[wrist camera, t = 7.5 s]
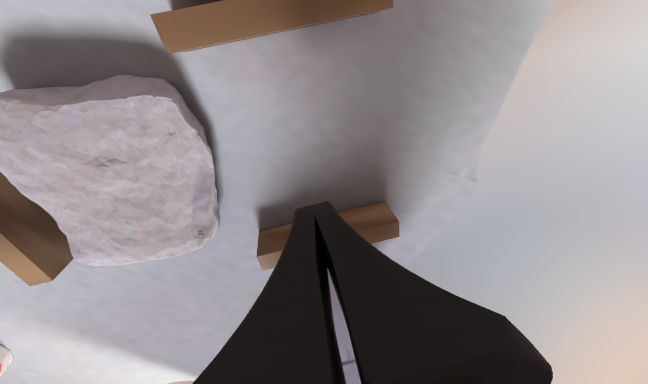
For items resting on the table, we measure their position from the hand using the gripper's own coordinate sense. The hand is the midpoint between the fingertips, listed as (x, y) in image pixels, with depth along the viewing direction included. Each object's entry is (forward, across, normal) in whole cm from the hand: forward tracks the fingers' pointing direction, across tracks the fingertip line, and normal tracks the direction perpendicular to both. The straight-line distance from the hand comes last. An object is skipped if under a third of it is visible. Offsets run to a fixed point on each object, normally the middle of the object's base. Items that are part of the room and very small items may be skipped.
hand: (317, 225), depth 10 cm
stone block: (+10, +10, -1) cm, 15 cm away
